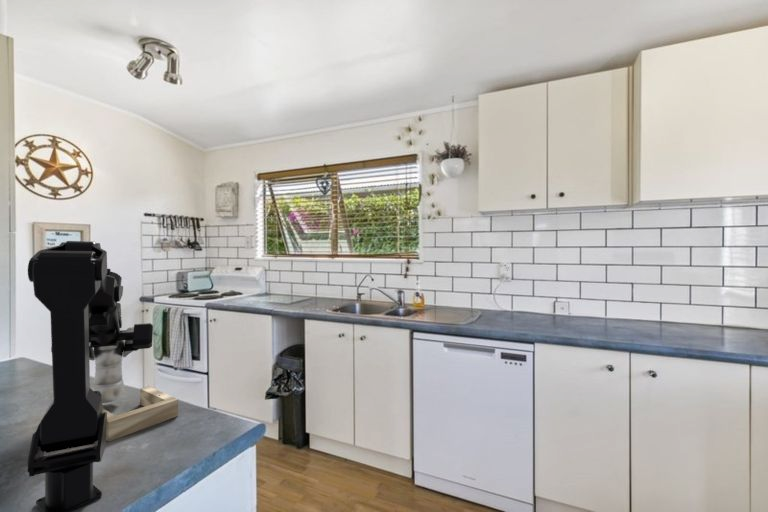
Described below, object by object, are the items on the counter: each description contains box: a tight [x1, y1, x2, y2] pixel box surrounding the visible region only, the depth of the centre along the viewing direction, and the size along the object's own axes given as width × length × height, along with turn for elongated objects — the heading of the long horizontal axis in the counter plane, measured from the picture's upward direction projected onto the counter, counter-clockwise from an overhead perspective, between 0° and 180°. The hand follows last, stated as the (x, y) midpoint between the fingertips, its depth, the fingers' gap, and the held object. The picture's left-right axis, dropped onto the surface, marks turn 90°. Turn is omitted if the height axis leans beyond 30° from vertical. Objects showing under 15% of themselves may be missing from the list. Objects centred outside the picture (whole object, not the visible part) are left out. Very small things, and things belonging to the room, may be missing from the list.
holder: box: [103, 385, 179, 442], centre depth 84 cm, size 14×14×4 cm
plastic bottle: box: [91, 340, 125, 404], centre depth 90 cm, size 6×7×20 cm
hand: (109, 357), depth 91 cm, fingers closed on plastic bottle, 6 cm apart
